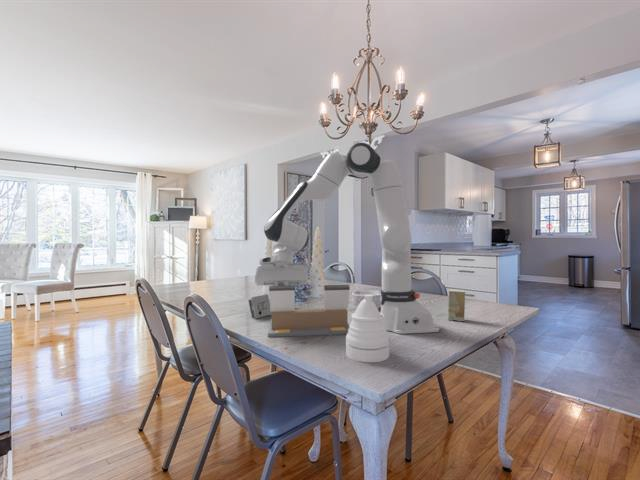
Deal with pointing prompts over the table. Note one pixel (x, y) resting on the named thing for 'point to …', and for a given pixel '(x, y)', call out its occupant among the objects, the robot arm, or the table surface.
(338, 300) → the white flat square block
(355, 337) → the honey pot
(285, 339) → the table surface
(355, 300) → the clear glass bowl
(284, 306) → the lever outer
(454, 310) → the skincare box
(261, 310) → the electrical switch
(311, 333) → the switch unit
